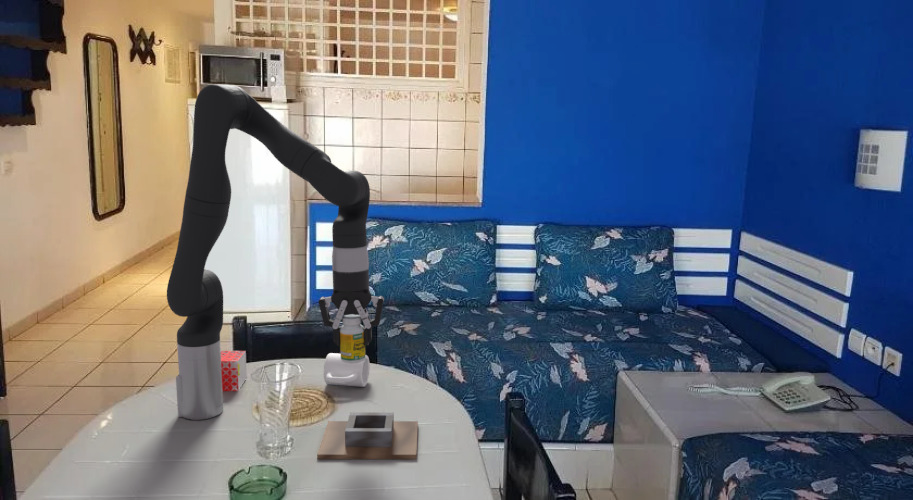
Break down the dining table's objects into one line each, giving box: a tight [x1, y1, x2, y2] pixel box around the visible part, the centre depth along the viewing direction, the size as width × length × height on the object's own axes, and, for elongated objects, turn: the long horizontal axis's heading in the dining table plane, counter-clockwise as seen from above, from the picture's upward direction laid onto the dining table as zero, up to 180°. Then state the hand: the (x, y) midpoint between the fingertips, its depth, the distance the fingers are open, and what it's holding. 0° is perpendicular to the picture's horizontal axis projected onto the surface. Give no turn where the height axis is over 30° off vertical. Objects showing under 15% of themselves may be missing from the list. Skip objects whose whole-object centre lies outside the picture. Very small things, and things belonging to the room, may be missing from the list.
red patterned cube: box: [221, 350, 248, 392], centre depth 184 cm, size 8×8×8 cm
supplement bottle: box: [339, 314, 367, 363], centre depth 154 cm, size 5×5×10 cm
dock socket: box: [316, 411, 419, 460], centre depth 154 cm, size 20×16×4 cm
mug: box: [323, 352, 371, 388], centre depth 184 cm, size 12×10×8 cm
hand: (352, 344), depth 154 cm, fingers closed on supplement bottle, 5 cm apart
